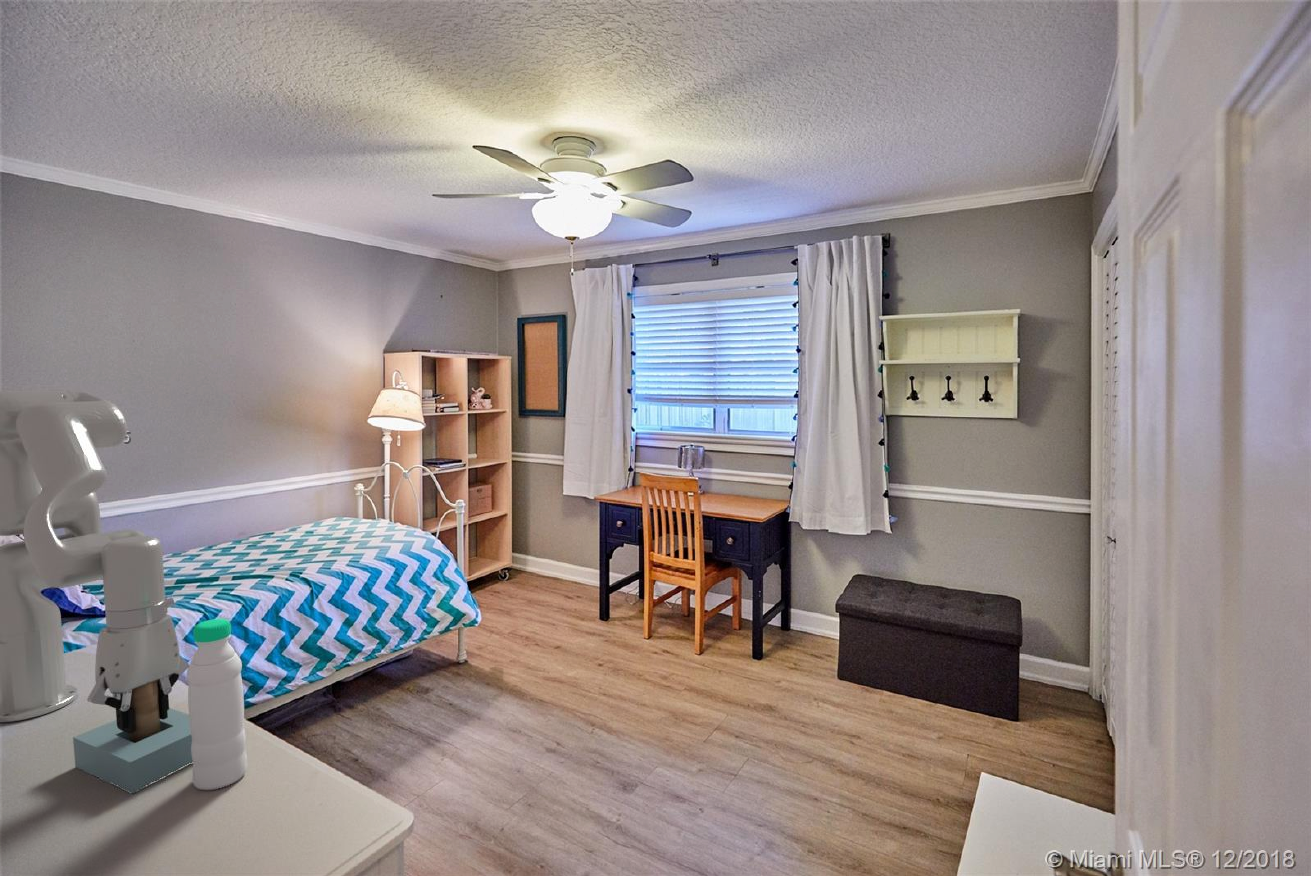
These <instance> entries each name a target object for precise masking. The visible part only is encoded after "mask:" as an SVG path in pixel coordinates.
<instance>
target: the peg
mask: <svg viewBox="0 0 1311 876" xmlns="http://www.w3.org/2000/svg"><path fill="white" fill-rule="evenodd" d="M130 707H131V708H133V709H134V713H135V727H136V731H135V732H134V733H131V734H129V741H131V742H133V743H136V742H139V741H141V740H143V739H146V738H148V737H150V736H152V735H155V734H157V733H159V732H161V730H160V715H159V700H158V685H157V680H156V681H152V682H147V683H146V684H144V685H142V686H139V687H137V688H135V689H132V695H131V701H130Z"/></svg>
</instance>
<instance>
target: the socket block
mask: <svg viewBox="0 0 1311 876" xmlns="http://www.w3.org/2000/svg"><path fill="white" fill-rule="evenodd" d="M167 713H168V718H166V719H164V720H163V719H160V730H161V732H159V733H157V734H155V735H152V736H150V737H148V738H146V739H143V740H141V741H139V742H136V743H133V742H131V741H129V733H126V732H124V731H122V730H120V729H118V727H117V720H116V719H114V720H113V721H110V722H108V723H104V724H103V725H100V726H98V727H96V728H93V729H91V730H88V731H85V732H82V733H79V734H78V735H75V736H73V737H72V740H73V741H72V742H73V752H74V755H73V756H74V766H75V767H74V768H76V767H77V768H76V769H78V768H79V770H80V769H81V770H80V771H82V770H83V772H85V773H87V772H88V773H87V774H89V773H90V774H89V775H91V774H92V775H91V776H93V775H94V776H93V777H95V776H98V777H99V778H101V779H100V780H102V779H103V780H102V781H104V782H106V781H108V782H111V783H113V784H115V785H118V786H119V787H121V788H123V789H125V790H127V791H129V792H131V793H134V792H136V791H137V790H140V789H141V788H143V787H145V786H146V785H149V784H150V783H151V782H154V781H157V780H159V779H160V778H162V777H164V776H167V775H168V774H169V773H171V772H174V771H176V770H178V769H179V768H181V767H183V766H185V765H187V764H189V763H192V762H193V760H192V755H191V744H192V736H191V731H190V722H189V713H186V712H185V713H184V712H182V711H179V710H177V709H174V708H171V707H169V710H168V711H167ZM99 778H98V779H99ZM108 782H107V783H108ZM119 787H118V788H119ZM121 788H120V789H121ZM123 789H122V790H123ZM125 790H124V791H125ZM127 791H126V792H127ZM140 791H141V790H140ZM129 792H128V793H129ZM131 793H130V794H131ZM136 793H137V792H136ZM134 794H135V793H134Z"/></svg>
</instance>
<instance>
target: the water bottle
mask: <svg viewBox="0 0 1311 876" xmlns="http://www.w3.org/2000/svg"><path fill="white" fill-rule="evenodd" d="M231 633H232V625H231V622H230V621H229V620H228V619H225V618H215V619H214V618H213V619H209V620H205V621H204V620H203V621H202V622H199V623H197V624H196V625H195V626H194V627H193V630H192V636H193V640H194V644H196V645H197V649H196V651H195V653H194V654H193V655H192V660H191V662H190V663H189V667H188V669H187V670H186V682H188V686H187V687H188V689H187V702H188V704H187V705H188V707H187V709H188V715H189V722H190V731H191V736H192V744H191V755H192V760H193V764H192V773H191V774H192V783H193V786H194V787H195V788H196V789H198V790H201V791H213V790H214V789H215V790H219V789H218V788H220V789H222V787H223V788H225V787H224V786H226V787H228V786H230V784H231V785H233V784H234V783H236V782H237V781H239V780H240V779H241V778H243V776H244V775H245V774H246V773H247V771H248V770H247V769H248V757H247V751H246V745H247V744H246V743H247V742H246V741H247V740H246V739H247V738H246V730H245V727H244V724H245V702H244V701H245V699H244V698H245V697H244V687H243V679H242V673H241V672H242V667H243V664H242V663H243V662H242V660H241V658H240V656H239V655H238V654H237V652H235V649H234V647H233V646H232V645H231V644H230V643H229V639H230V638H231ZM227 785H228V786H227Z"/></svg>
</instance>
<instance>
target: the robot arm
mask: <svg viewBox="0 0 1311 876" xmlns="http://www.w3.org/2000/svg"><path fill="white" fill-rule="evenodd" d="M127 435H128V423H127V421H126V418H125V416H124V414H123V412H122V411H121V409H119V407H118V406H117V405H116V404H114V403H113V402H111V401H109V400H108V399H105V398H103V397H100V396H96V395H95V394H92V393H90V392H86V391H81V390H0V537H1V536H2V537H10V536H20V535H23V538H24V539H23V540H21V541H17V542H10V543H7V544H6V543H5V544H2V545H0V723H8V722H9V723H10V722H11V723H12V722H18V721H23V720H28V719H33V718H37V717H39V716H44V715H46V714H49V713H52V712H54V711H57V710H59V709H61V708H64V707H65V706H67V705H68V704H70V703H71V702H73V701H75V699H76V698H77V697H78V693H79V692H78V691H79V690H78V687H76V686H74V685H70V684H67V677H66V665H65V663H66V662H65V653H64V641H63V640H64V639H63V626H62V618H61V617H62V615H61V614H62V613H61V611H60V608H59V606H58V605H57V604H56V603H55V602H54V601H52V600H51V599H49V598H48V597H46V596H44V595H43V594H42V593H41V592H42V591H43V590H45V589H51V588H55V589H56V588H57V589H61V588H62V589H63V588H65V589H66V588H70V587H75V586H78V585H79V586H80V585H84V584H89V583H91V582H92V583H93V582H96V581H100V580H102V581H103V582H102V583H103V597H104V610H105V625H106V627H103V628H101V629H100V630H99V634H98V636H97V637H98V638H97V642H96V643H97V644H96V649H95V650H96V653H95V670H94V672H95V674H94V677H95V684H94V686H93V687H92V690H91V692H90V693H89V695H88V697H87V699H86V700H87V702H89V703H91V704H95V705H103V706H104V705H105V706H108V707H110V708H113V709H115V715H116V716H115V718H116V719H115V720H117V727H118V729H120V730H122V731H124V732H126V733H129V734H131V733H134V732H135V731H136V727H135V713H134V709H133V708H131V707H130V701H131V695H132V689H135V688H137V687H139V686H142V685H144V684H146V683H147V682H152V681H156V680H157V685H158V700H159V715H160V719H163V720H164V719H166V718H168V713H167V711H168V710H169V708H170V702H169V694H170V693H172V692H173V691H172V690H173V686H174V685H175V684H176V683H177V681H178V680H179V678H180V676H182V675H183V674H184V673H185V672H187V670H188V667H189V665H190V663H189V662H188V661H187V660H186V659H185V658H183V657H182V656H181V655H180V647H179V641H178V640H179V639H178V636H177V632H176V628H175V625H174V621H173V619H172V617H171V615H170V614H168V609H169V608H170V607H172V606H174V605H175V599H174V598H173V597H170V598H167V597H166V589H165V588H166V587H165V586H166V585H165V576H164V575H165V572H164V570H165V569H164V558H163V557H164V555H163V554H164V553H163V545H162V542H161V541H160V539H159V538H157V537H155V536H151V535H150V536H149V535H145V534H144V533H143V531H142V532H141V531H140V530H138V529H134V528H124V529H117V530H111V531H104V532H102V522H101V511H100V503H99V498H98V495H97V493H96V491H98V490H99V489H100V488H102V486H103V485H105V484H106V481H107V480H108V473H107V470H106V468H105V466H104V464H103V462H102V459H101V458H100V454H98V453H99V452H98V451H97V449H99V448H109V447H112V448H113V447H116V446H119V445H121V444H122V443H123V442H124V441H125V439H126V437H127ZM59 529H63V531H64V532H65V534H58V535H57V533H56V532H55V530H59ZM107 689H109V693H111V694H112V696H110V695H106V694H105V693H106V691H107Z"/></svg>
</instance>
